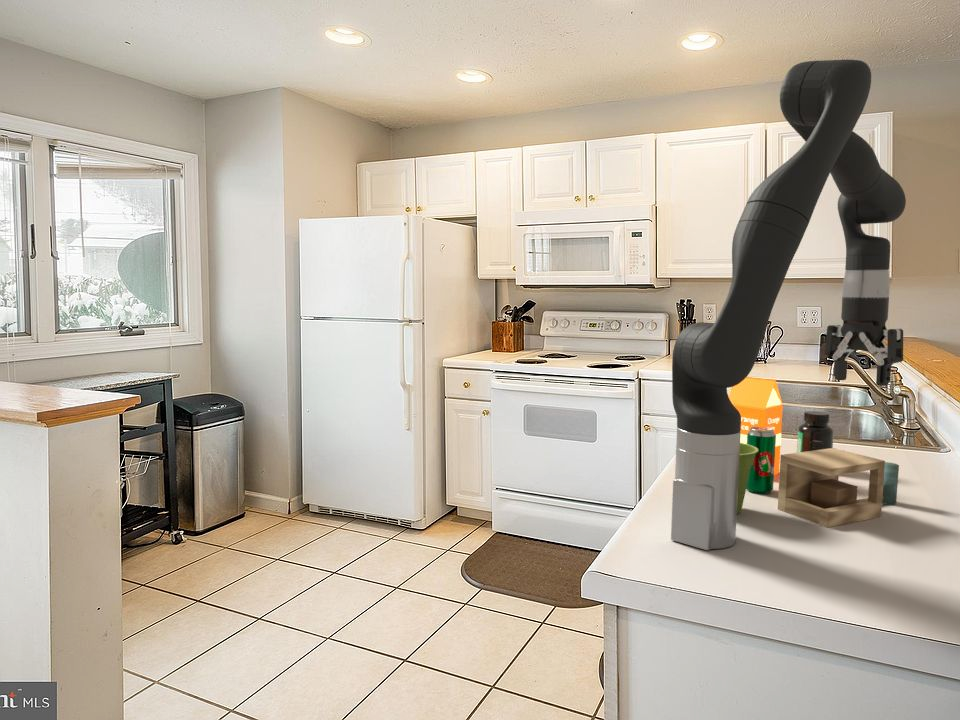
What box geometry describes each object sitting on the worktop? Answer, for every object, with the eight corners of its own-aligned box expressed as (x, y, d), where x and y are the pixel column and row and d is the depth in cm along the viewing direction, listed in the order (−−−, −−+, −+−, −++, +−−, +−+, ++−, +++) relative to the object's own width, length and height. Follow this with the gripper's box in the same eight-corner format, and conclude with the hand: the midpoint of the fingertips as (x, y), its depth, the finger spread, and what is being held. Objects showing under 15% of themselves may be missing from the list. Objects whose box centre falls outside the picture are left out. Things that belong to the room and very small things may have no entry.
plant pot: (767, 509, 121) (770, 446, 119) (735, 526, 112) (739, 458, 111) (704, 494, 129) (706, 435, 128) (670, 509, 121) (673, 445, 119)
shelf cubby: (827, 527, 112) (830, 468, 111) (777, 509, 121) (780, 454, 120) (881, 516, 117) (885, 460, 116) (829, 499, 126) (833, 447, 125)
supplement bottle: (793, 469, 147) (797, 413, 146) (798, 462, 153) (801, 409, 152) (829, 473, 144) (833, 417, 142) (832, 466, 150) (836, 412, 148)
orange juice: (761, 479, 139) (766, 381, 137) (721, 470, 146) (725, 377, 144) (779, 473, 144) (785, 378, 142) (740, 464, 151) (744, 373, 149)
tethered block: (835, 518, 116) (837, 478, 115) (810, 509, 121) (812, 470, 120) (905, 504, 124) (908, 466, 123) (879, 497, 128) (881, 460, 127)
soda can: (749, 485, 135) (752, 425, 134) (776, 490, 132) (779, 428, 131) (740, 491, 131) (743, 429, 130) (768, 496, 128) (771, 432, 127)
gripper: (917, 295, 121) (911, 386, 123) (845, 294, 134) (841, 376, 136) (887, 296, 119) (882, 389, 120) (817, 295, 132) (813, 379, 133)
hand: (860, 382), depth 128 cm, fingers open, 8 cm apart
